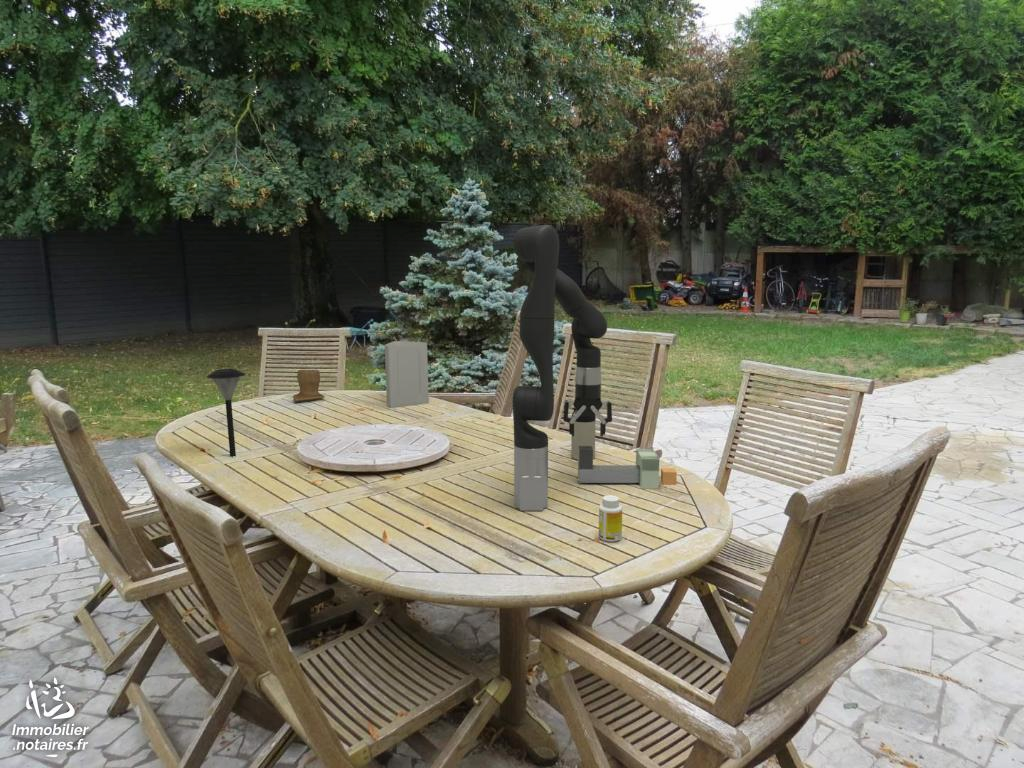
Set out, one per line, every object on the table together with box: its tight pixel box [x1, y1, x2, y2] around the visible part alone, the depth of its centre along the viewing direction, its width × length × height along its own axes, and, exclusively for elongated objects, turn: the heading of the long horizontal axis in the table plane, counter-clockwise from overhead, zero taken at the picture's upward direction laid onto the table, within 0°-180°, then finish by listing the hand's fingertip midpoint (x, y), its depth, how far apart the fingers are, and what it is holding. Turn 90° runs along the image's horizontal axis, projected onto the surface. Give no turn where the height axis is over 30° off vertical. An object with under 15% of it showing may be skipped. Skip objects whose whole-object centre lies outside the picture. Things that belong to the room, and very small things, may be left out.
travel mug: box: [570, 405, 597, 460], centre depth 231 cm, size 8×8×18 cm
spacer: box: [660, 467, 678, 486], centre depth 207 cm, size 4×4×4 cm
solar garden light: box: [206, 368, 246, 457], centre depth 233 cm, size 12×12×30 cm
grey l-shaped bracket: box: [577, 446, 640, 484], centre depth 206 cm, size 4×22×10 cm, turn 89°
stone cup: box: [292, 369, 325, 403], centre depth 325 cm, size 15×12×15 cm
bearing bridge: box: [635, 448, 660, 490], centre depth 206 cm, size 11×5×9 cm, turn 179°
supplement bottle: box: [598, 494, 623, 543], centre depth 166 cm, size 6×6×10 cm
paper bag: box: [384, 340, 430, 409], centre depth 317 cm, size 19×15×28 cm
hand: (587, 435), depth 204 cm, fingers open, 8 cm apart
